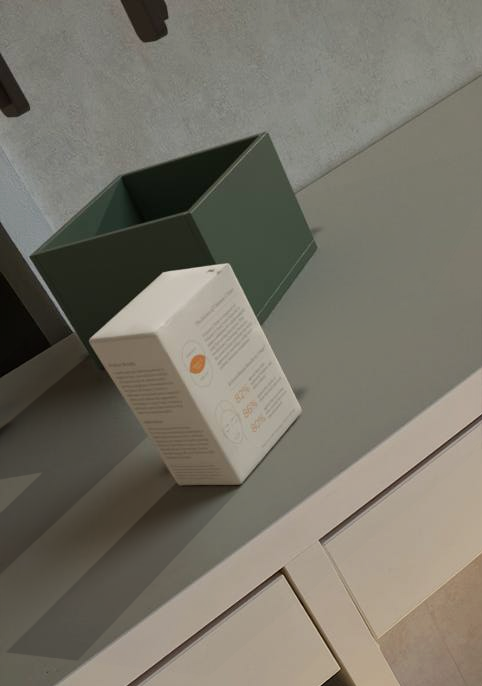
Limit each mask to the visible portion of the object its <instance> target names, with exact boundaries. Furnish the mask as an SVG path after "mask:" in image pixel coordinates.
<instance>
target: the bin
mask: <svg viewBox="0 0 482 686" xmlns="http://www.w3.org/2000/svg"><path fill="white" fill-rule="evenodd" d="M269 133H270V132H269V131H263V132H259V133H255V134H253V135H249V136H246V137H242V138H239V139H236V140H232V141H229V142H227V143H226V142H225V143H222V144H219V145H216V146H213V147H208V148H205V149H202V150H199V151H195V152H193V153H189V154H186V155H183V156H178V157H175V158H172V159H169V160H166V161H162V162H159V163H156V164H152V165H148V166H145V167H141V168H138V169H135V170H131V171H129V172H125V173H121V174H118V175H117V176H116V177H115V178H114V179H113V180H112V181H111V182H110V183H108V184H107V185H106V186H105V187H104V188H103V189H102V190H101V191H100V192H98V193H97V194H96V195H95V196H94V197H93V198H92V199H91V200H89V201H88V203H86V204H85V205H84V206H83V207H82V208H80V210H78V212H77V213H76V214H74V215H73V216H72V217H70V219H69V220H68V221H67V222H65V223H64V224H63V225H62V226H61V227H60V228H59V229H57V230H56V231H55V232H54V233H53V234H52V235H51V236H50V237H49V238H48V239H47V240H45V241H44V242H43V243H42V244H41V245H40V246H39V247H38V248H37V249H35V250H34V251H33V253H31V254H29V256H28V258H29V259H30V261H31V263H32V264H33V266H34V267H35V270H37V272H38V275H40V277H41V279H42V280H43V282H44V284H45V285H46V287H47V288H48V290H49V292H50V293H51V295H52V297H53V298H54V299H55V301H56V303H57V304H58V306H59V307H60V309H61V311H62V312H63V313H64V315H65V317H66V319H67V320H68V322H69V324H70V325H71V327H72V328H73V331H74V332H75V333H76V335H77V336H78V338H79V340H80V341H81V343H82V344H83V347H85V350H86V351H87V353H88V354H89V355H90V357H91V359H92V360H93V362H94V364H95V365H96V367H97V369H98V370H103V369H105V367H104V366H103V364H102V362H101V361H100V359H99V358H98V356H97V354H96V353H95V351H94V350H93V348H92V346H91V345H90V343H89V339H90V338H91V337H92V336H93V335H94V334H96V333H97V332H98V331H99V330H100V329H101V328H102V327H103V326H105V325H106V324H107V323H108V322H109V321H110V320H111V319H112V318H113V317H115V316H116V315H117V314H118V313H119V312H120V311H121V310H122V309H123V308H124V307H125V306H127V305H128V304H129V303H130V302H131V301H132V300H133V299H134V298H135V297H137V296H138V295H139V294H140V293H141V292H142V291H143V290H144V289H145V288H147V287H148V286H149V285H150V284H151V283H152V282H153V281H154V280H155V279H157V278H158V277H159V276H160V275H161V274H162V273H163V272H169V271H176V270H183V269H190V268H197V267H204V266H211V265H219V264H229V265H230V266H231V268H232V270H233V272H234V274H235V276H236V278H237V280H238V282H239V284H240V286H241V288H242V290H243V292H244V294H245V296H246V298H247V300H248V302H249V304H250V306H251V308H252V310H253V312H254V314H255V316H256V318H257V320H258V322H259V324H260V326H261V327H262V325H263V324H264V322H265V321H266V320H267V318H268V317H269V315H270V314H271V313H272V311H273V310H274V308H275V307H276V306H277V305H278V303H279V301H280V300H281V299H282V297H283V296H284V295H285V293H286V292H287V291H288V289H289V288H290V287H291V285H292V284H293V283H294V281H295V280H296V278H297V277H298V276H299V274H300V273H301V272H302V270H303V269H304V267H305V266H306V265H307V264H308V262H309V260H310V259H311V257H312V256H313V254H314V253H315V252H316V251H317V249H319V248H318V244H317V243H316V240H315V238H314V236H313V234H312V231H311V228H310V227H309V224H308V222H307V219H306V217H305V215H304V213H303V210H302V208H301V206H300V203H299V201H298V199H297V196H296V194H295V191H294V189H293V187H292V184H291V182H290V180H289V177H288V176H287V173H286V170H285V168H284V165H283V164H282V161H281V159H280V156H279V154H278V152H277V149H276V147H275V144H274V143H273V140H272V139H271V138H272V137H271V136H270V134H269Z"/></svg>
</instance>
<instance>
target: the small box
mask: <svg viewBox="0 0 482 686" xmlns="http://www.w3.org/2000/svg"><path fill="white" fill-rule="evenodd" d="M89 343H90V345H91V346H92V348H93V350H94V351H95V353H96V354H97V356H98V358H99V359H100V361H101V362H102V364H103V366H104V367H105V368H104V369H105V371H106V373H108V375H109V376H110V378H111V380H112V382H113V383H114V385H115V387H116V388H117V389H118V392H119V393H120V395H121V396H122V398H123V399H124V401H125V402H126V404H127V406H128V407H129V409H130V411H131V412H132V413H133V415H134V417H135V419H136V420H137V421H138V423H139V425H140V426H141V428H142V430H143V432H144V433H145V435H146V436H147V438H148V439H149V441H150V442H151V444H152V446H153V447H154V449H155V450H156V452H157V454H158V455H159V457H160V458H161V460H162V462H163V464H164V465H165V466H166V468H167V470H168V471H169V473H170V474H171V476H172V477H173V480H174V481H175V482H176V484H177V485H179V486H235V485H236V486H237V485H242V484H243V483H244V482H245V481H246V479H247V478H248V477H249V476H250V475H251V474H252V473H253V471H254V470H255V469H256V467H257V466H258V465H259V464H260V463H261V462H262V460H263V459H264V458H265V457H266V455H268V454H269V452H270V451H271V450H272V448H273V447H274V446H275V445H276V444H277V443H278V441H279V440H280V439H281V438H282V437H283V435H284V434H285V433H286V432H287V430H288V429H289V428H290V427H291V426H292V424H293V423H294V422H295V421H296V420H297V418H298V417H299V416H300V415H301V414H302V411H303V410H302V408H301V407H302V406H301V405H300V403H299V401H298V399H297V397H296V395H295V393H294V391H293V389H292V387H291V385H290V383H289V381H288V379H287V376H286V374H285V373H284V371H283V369H282V367H281V365H280V363H279V360H278V359H277V357H276V355H275V353H274V351H273V349H272V347H271V345H270V343H269V340H268V338H267V336H266V334H265V333H264V330H263V328H262V325H261V326H260V324H259V322H258V320H257V318H256V316H255V314H254V312H253V310H252V308H251V306H250V304H249V302H248V300H247V298H246V296H245V294H244V292H243V290H242V288H241V286H240V284H239V282H238V280H237V278H236V276H235V274H234V272H233V270H232V268H231V266H230V265H229V264H219V265H211V266H204V267H197V268H190V269H183V270H176V271H169V272H163V273H162V274H161V275H160V276H159V277H158V278H157V279H155V280H154V281H153V282H152V283H151V284H150V285H149V286H148V287H147V288H145V289H144V290H143V291H142V292H141V293H140V294H139V295H138V296H137V297H135V298H134V299H133V300H132V301H131V302H130V303H129V304H128V305H127V306H125V307H124V308H123V309H122V310H121V311H120V312H119V313H118V314H117V315H116V316H115V317H113V318H112V319H111V320H110V321H109V322H108V323H107V324H106V325H105V326H103V327H102V328H101V329H100V330H99V331H98V332H97V333H96V334H94V335H93V336H92V337H91V338H90V339H89Z"/></svg>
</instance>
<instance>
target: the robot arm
mask: <svg viewBox="0 0 482 686" xmlns="http://www.w3.org/2000/svg"><path fill="white" fill-rule="evenodd" d="M119 1H120V4H121V5H122V7H123V9H124V11H125V13H126V15H127V18H128V20H129V22H130V24H131V26H132V29H133V30H134V32H135V34H136V36H137V37H138V39H139V40H140V41H141V43H144V44H145V43H146V44H147V43H152V42H153V43H154V42H157V41H159V40H162V39H163V38H164V37H167V36H168V35H169V30H168V26H167V24H166V21H168V20H169V19H170V17H169V11H168V5H167V3H166V1H165V0H119ZM29 111H31V105H30V102H29V100H28V99H27V97H26V96H25V93H24V92H23V90H22V88H21V86H20V84H19V83H18V81H17V80H16V78H15V76H14V74H13V72H12V71H11V69H10V67H9V65H8V63H7V62H6V60H5V58H4V56H3V54H2V53H1V52H0V112H1V113H2V114H3V115H4V116H5V117H6V118H10V119H11V118H19V117H20V116H23V115H24V114H27V113H28V112H29Z"/></svg>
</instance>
